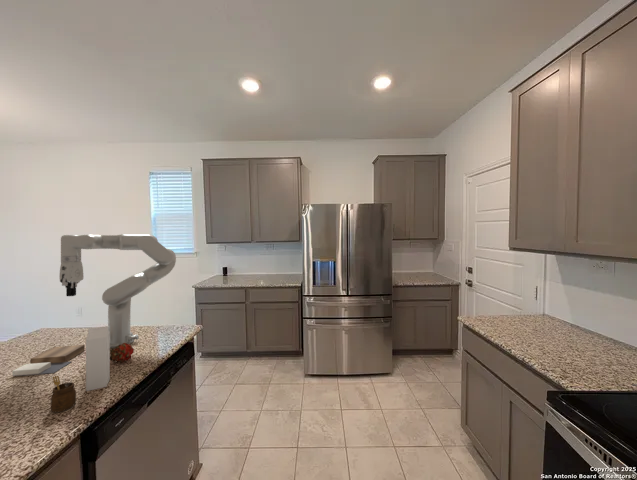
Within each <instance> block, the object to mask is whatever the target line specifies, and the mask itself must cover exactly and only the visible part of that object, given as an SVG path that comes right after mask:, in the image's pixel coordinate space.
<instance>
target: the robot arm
mask: <svg viewBox="0 0 637 480" xmlns="http://www.w3.org/2000/svg"><path fill="white" fill-rule="evenodd" d="M102 249H103V250H109V249H111V250H120V251H142V252H143V253H144V254H146V256H148V257H149V258H150V259H152V260H153V261H154V262H155V264H153V265H152V266H150V267H148V268H146V269H145V270H142V271H140V272H138V273H136V274H133V275H131V276H129V277H127V278H125V279H123V280H121V281H120V282H117V283H116V284H114V285H112V286H111V287H108V288H107V289H105V291H104V292H103V293H102V295H101V300H102V301H103V303H104V304H105V305H107V306H108V308H107V326H108V331H109V332H110V349H115V348H116V347H117V346H118V345H122V344H123V343H127V344H129V345H131V344H132V343H133V342H135V341H134V340H139V334H133V333H134V332H131V308H132V306H131V303H132V298H133V297H135V296H136V295H139V294H140V293H142V292H144V291H145V290H146V289H147V288H148V287H149V286H151V285H153V284H155V283H156V282H158V281H160V280H161V279H163V278H164V277H166V276H167V275H169V274H170V273H171V272H172V271H173V269H174V268H175V266H176V262H177V257H176V252H175V251H174V250H172V249H170V248H166V247H165V246H164V245H162V243H160V242H159V241H158V238H157V237H156V236H154V235H152V234H130V233H129V234H128V233H127V234H125V233H124V234H122V233H121V234H117V235H115V234H113V235H111V234H109V235H107V234H81V235H78V234H66V235H65V234H63V235H61V237H60V267H59V282H60V283H61V286H63V287H65V289H66V295H65V296H66V297H74V296H77V287H78V284H79V283H80V282H82V281H83V280H84V266H83V263H82V250H102Z"/></svg>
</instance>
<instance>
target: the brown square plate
mask: <svg viewBox="0 0 637 480" xmlns="http://www.w3.org/2000/svg"><path fill="white" fill-rule="evenodd" d="M83 352H86V344H77V345H65V346H64V345H61V346H60V345H59V346H53V347H51V348H49V349H47V350H44V351H43V352H41V353H39V354H37V355H35V356H33V357H31V358H30V361H29V362H30V363H29V364H33V363H46V362H51V363H59V362H70V360H72V359H74V358H75V357H77V356H79V355H80V354H81V353H83Z"/></svg>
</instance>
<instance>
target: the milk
mask: <svg viewBox="0 0 637 480" xmlns="http://www.w3.org/2000/svg"><path fill="white" fill-rule="evenodd" d="M110 349H111V348H110V332H109V331H108V325H105V326H99V327H97V326H96V327H91V328H90V327H89V328H88V329H87V335H86V338H85V391H86V392H88V391H89V392H90V391H93V390H98V389H102V388H107V386H108V385H109V382H110V378H111V377H110V376H111V374H110V373H111V372H110V370H111V369H110V368H111V366H110V364H111V360H110V356H111V354H110V353H111V350H110Z"/></svg>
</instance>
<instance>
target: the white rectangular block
mask: <svg viewBox="0 0 637 480" xmlns="http://www.w3.org/2000/svg"><path fill="white" fill-rule="evenodd" d="M50 367H51V362H46V363H33V364H30V363H26V364H24V365H21V366H20V367H17V368H16V369H14V370H12V372H11V373H12V376H14V377H16V376H17V377H18V376H22V375H28V376H31V375H30V374H39V373H41V372H43V371H44V370H46V369H48V368H50ZM39 375H40V374H39Z"/></svg>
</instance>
